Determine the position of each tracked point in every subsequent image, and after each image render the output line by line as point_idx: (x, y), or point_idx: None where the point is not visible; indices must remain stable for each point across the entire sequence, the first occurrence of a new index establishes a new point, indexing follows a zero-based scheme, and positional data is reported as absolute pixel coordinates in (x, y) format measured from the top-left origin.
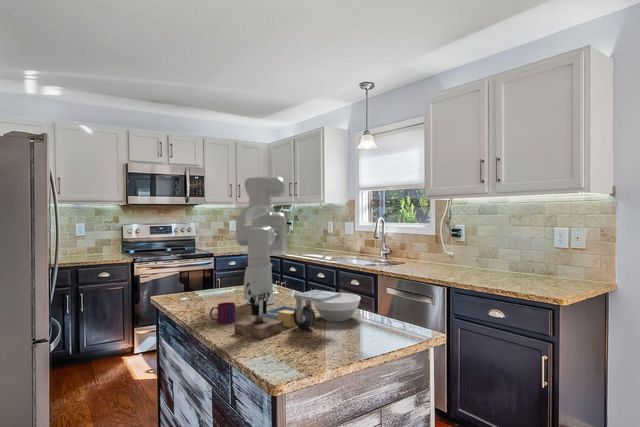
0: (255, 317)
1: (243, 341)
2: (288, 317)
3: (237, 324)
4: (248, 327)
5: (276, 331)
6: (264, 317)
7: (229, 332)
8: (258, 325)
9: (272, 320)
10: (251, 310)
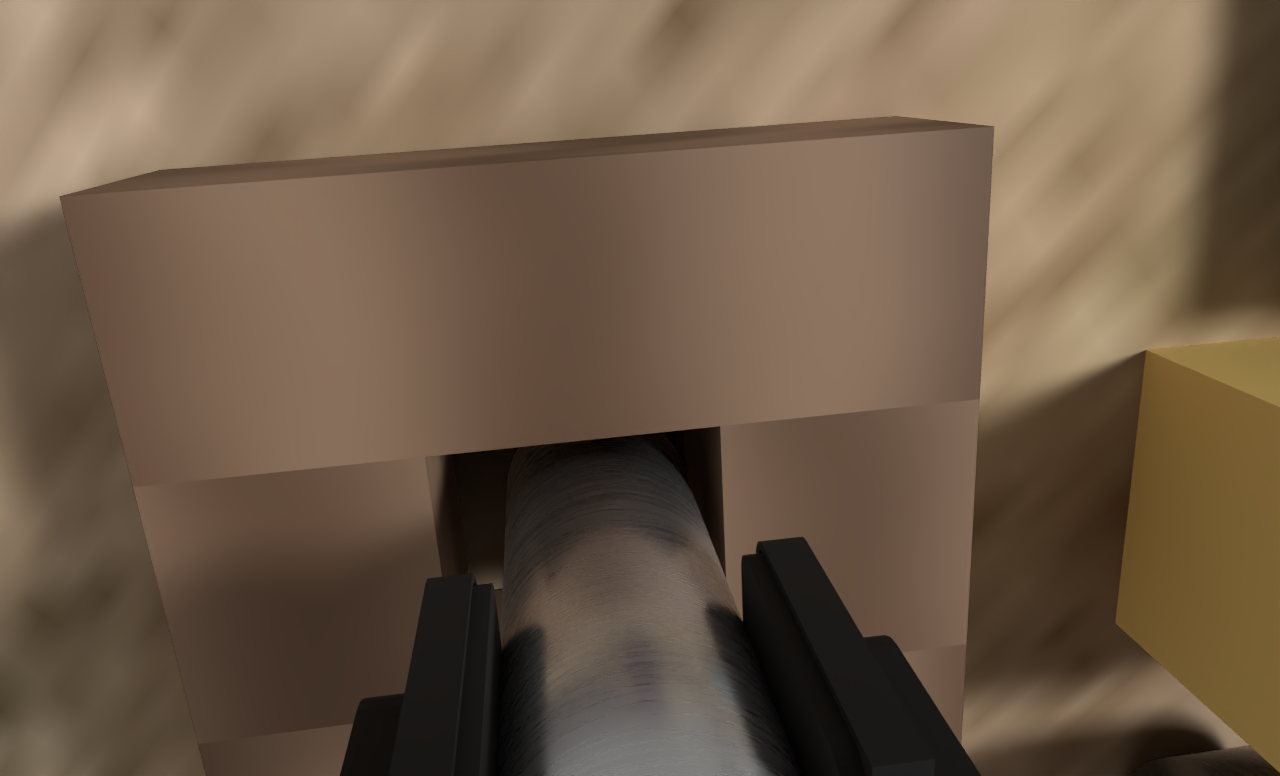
0: (503, 613)
1: (33, 692)
2: (1242, 702)
3: (95, 311)
4: (186, 675)
5: None
6: (977, 328)
7: (110, 2)
8: None
9: None
10: (415, 640)
